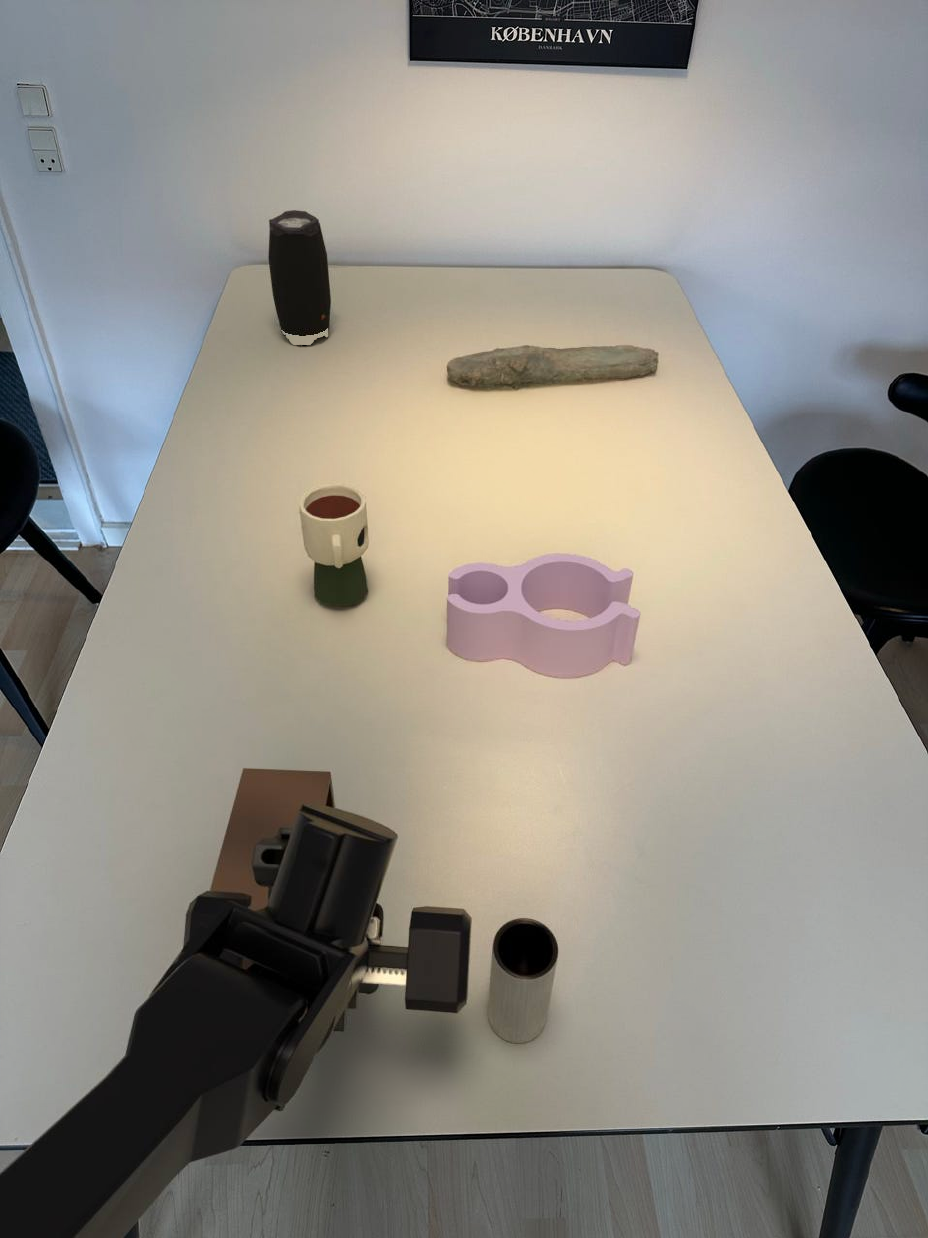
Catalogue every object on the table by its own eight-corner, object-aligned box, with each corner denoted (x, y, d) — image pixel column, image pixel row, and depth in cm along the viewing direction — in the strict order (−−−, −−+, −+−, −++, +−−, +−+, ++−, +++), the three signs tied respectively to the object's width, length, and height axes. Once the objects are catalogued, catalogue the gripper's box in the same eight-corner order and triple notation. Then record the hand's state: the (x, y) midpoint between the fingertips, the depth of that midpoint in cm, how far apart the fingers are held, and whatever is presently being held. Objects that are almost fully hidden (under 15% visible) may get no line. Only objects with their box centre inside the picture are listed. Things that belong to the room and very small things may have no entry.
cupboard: (330, 1009, 69) (319, 947, 62) (218, 1004, 69) (195, 941, 63) (355, 839, 80) (347, 771, 74) (259, 835, 80) (243, 767, 74)
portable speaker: (341, 340, 154) (332, 221, 140) (291, 352, 150) (276, 232, 137) (320, 321, 159) (309, 205, 146) (270, 333, 155) (255, 214, 142)
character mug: (376, 622, 101) (370, 528, 93) (312, 628, 100) (300, 534, 92) (368, 561, 109) (361, 470, 100) (308, 567, 108) (297, 475, 99)
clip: (444, 674, 95) (445, 626, 91) (449, 596, 105) (450, 549, 100) (633, 680, 95) (643, 632, 91) (622, 602, 104) (630, 555, 100)
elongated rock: (665, 389, 145) (644, 364, 153) (672, 358, 142) (650, 333, 149) (452, 395, 139) (441, 368, 146) (454, 362, 135) (442, 336, 143)
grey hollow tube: (548, 1045, 67) (560, 980, 60) (487, 1043, 67) (493, 979, 60) (544, 985, 71) (556, 917, 64) (487, 984, 71) (492, 916, 64)
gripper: (470, 852, 53) (480, 820, 68) (158, 832, 54) (237, 804, 69) (459, 1051, 51) (472, 972, 67) (140, 1026, 53) (225, 954, 68)
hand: (350, 921), depth 68 cm, fingers closed
